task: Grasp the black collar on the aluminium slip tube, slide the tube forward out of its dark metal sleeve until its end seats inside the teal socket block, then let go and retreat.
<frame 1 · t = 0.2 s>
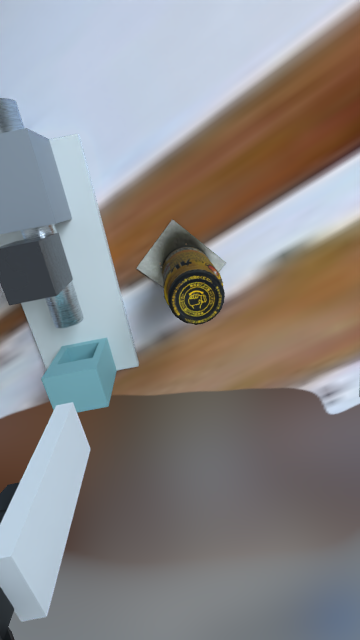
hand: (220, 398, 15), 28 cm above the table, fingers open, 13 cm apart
slip tube: (27, 228, 31), point 7 cm above the table, slide at 0.0 cm
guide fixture: (65, 273, 40), on the table
condiment: (181, 264, 41), on the table
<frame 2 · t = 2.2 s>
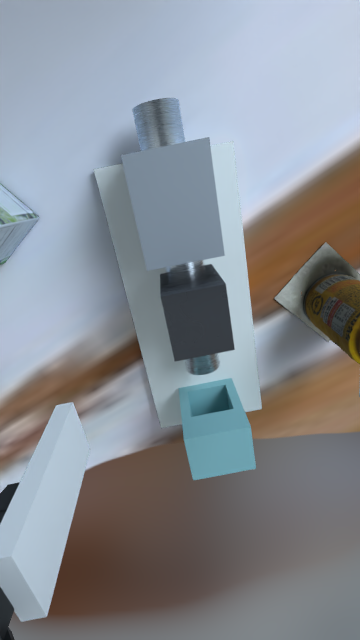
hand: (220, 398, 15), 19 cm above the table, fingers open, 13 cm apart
slip tube: (185, 261, 25), point 7 cm above the table, slide at 0.0 cm
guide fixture: (190, 305, 34), on the table
condiment: (324, 293, 34), on the table
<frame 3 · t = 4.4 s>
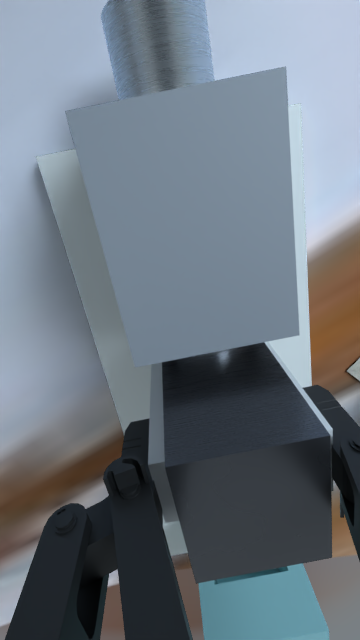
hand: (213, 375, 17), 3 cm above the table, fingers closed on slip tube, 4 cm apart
slip tube: (214, 344, 12), point 7 cm above the table, slide at 0.0 cm, touching gripper
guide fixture: (210, 382, 21), on the table
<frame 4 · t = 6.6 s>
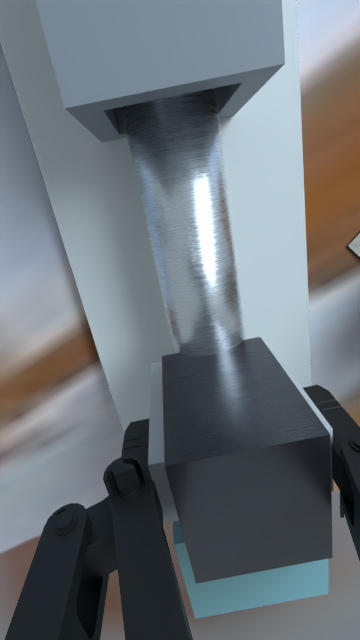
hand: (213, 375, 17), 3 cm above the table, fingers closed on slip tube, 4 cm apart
slip tube: (214, 343, 12), point 7 cm above the table, slide at 8.1 cm, touching gripper
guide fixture: (189, 257, 18), on the table
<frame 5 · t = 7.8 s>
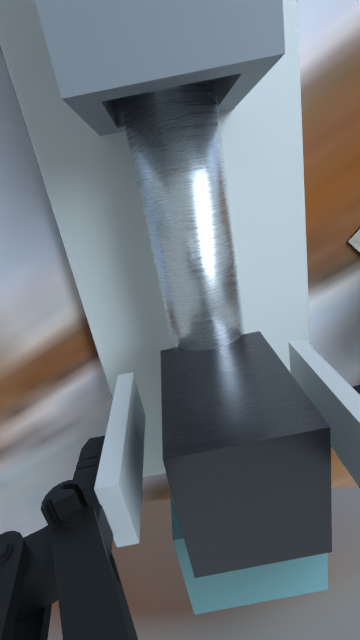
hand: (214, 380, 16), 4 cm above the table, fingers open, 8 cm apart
slip tube: (213, 337, 12), point 7 cm above the table, slide at 8.0 cm
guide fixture: (188, 253, 17), on the table
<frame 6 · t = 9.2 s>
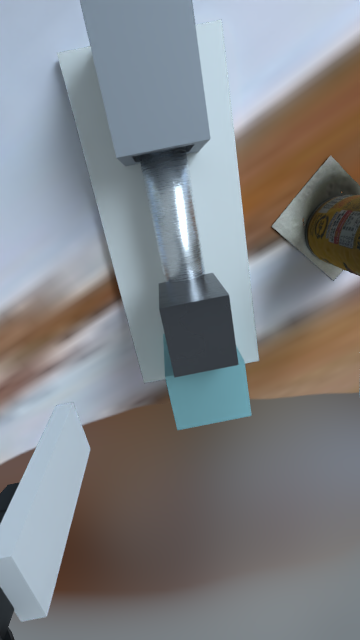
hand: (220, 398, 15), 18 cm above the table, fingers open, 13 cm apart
slip tube: (185, 270, 24), point 7 cm above the table, slide at 8.0 cm
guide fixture: (175, 233, 29), on the table
condiment: (329, 222, 30), on the table
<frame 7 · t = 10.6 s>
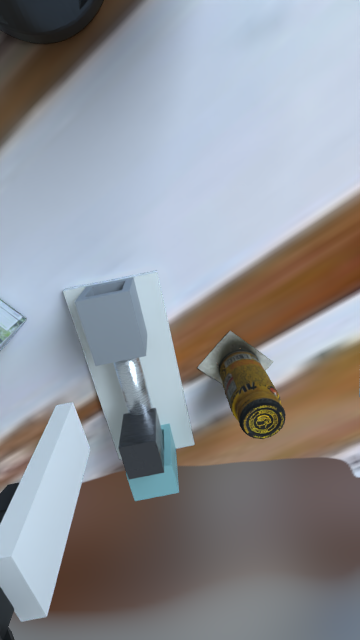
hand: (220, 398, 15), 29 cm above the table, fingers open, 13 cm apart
slip tube: (137, 413, 41), point 7 cm above the table, slide at 8.0 cm
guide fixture: (136, 373, 47), on the table
condiment: (234, 363, 47), on the table
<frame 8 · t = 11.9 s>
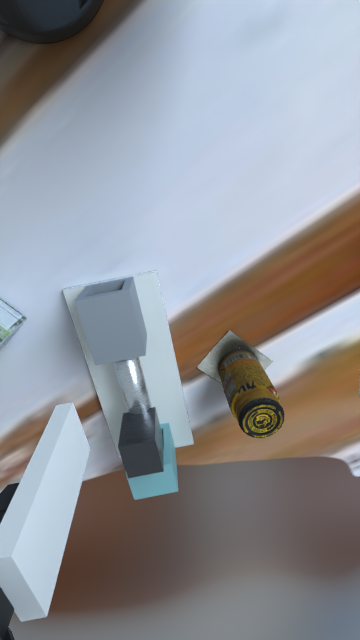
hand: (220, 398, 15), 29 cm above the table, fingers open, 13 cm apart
slip tube: (136, 412, 41), point 7 cm above the table, slide at 8.0 cm
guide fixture: (136, 372, 47), on the table
condiment: (234, 363, 48), on the table
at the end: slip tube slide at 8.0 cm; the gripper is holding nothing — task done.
